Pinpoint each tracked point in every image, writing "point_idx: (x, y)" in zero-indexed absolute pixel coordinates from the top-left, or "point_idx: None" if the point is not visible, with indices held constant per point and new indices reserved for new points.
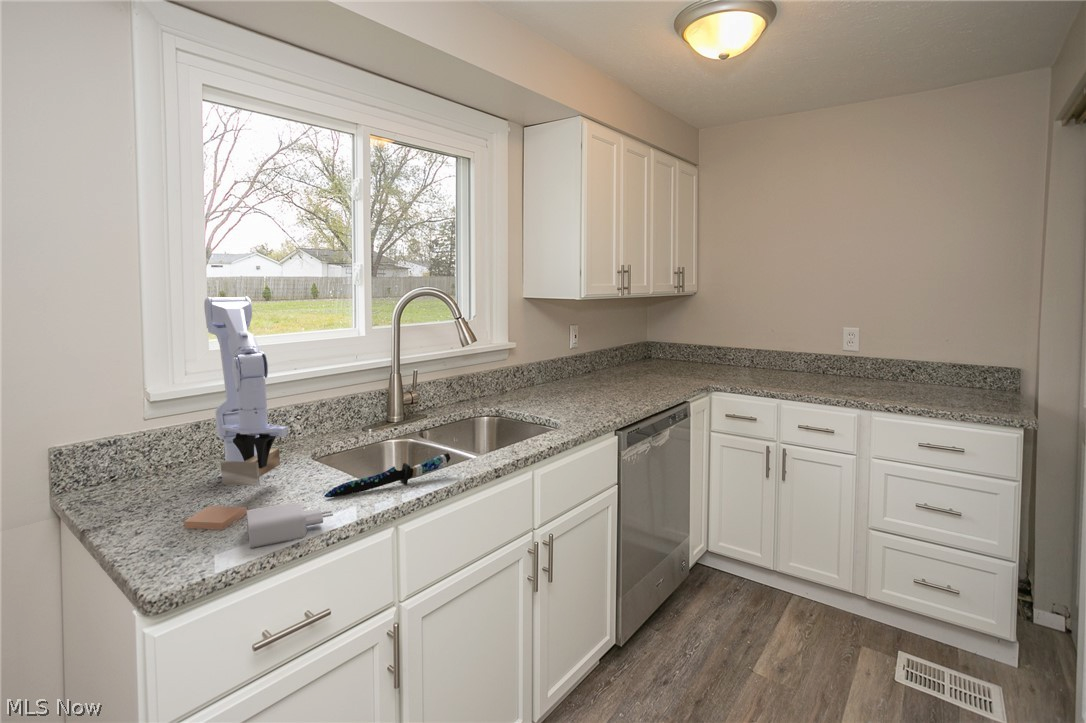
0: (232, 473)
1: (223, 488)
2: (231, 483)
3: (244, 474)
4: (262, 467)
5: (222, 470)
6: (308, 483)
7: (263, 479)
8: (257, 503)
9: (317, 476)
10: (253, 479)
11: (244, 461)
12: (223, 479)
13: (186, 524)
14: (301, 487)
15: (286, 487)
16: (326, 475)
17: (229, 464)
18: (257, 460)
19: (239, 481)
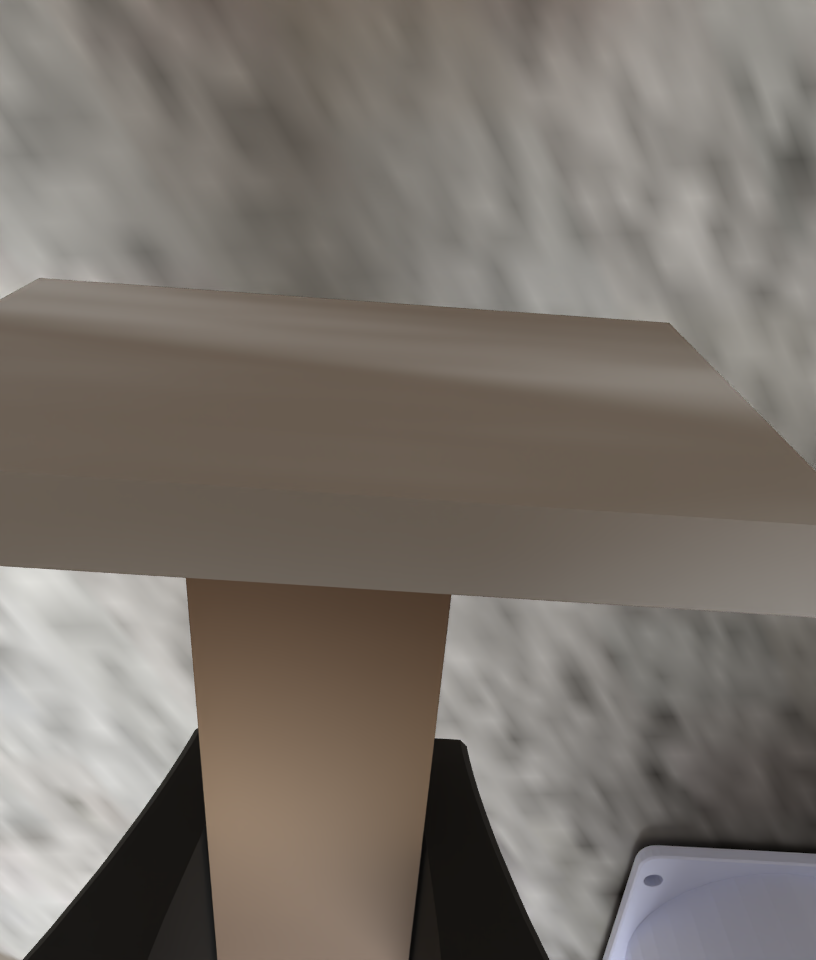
0: (488, 380)
1: (780, 649)
2: (507, 320)
3: (217, 360)
4: (192, 739)
5: (733, 418)
6: (45, 763)
7: (501, 827)
8: (201, 275)
9: (80, 883)
10: (56, 311)
11: (417, 768)
12: (665, 348)
13: None
14: (40, 686)
15: (181, 683)
16: (21, 900)
17: (581, 483)
18: (208, 826)
19: (352, 318)
